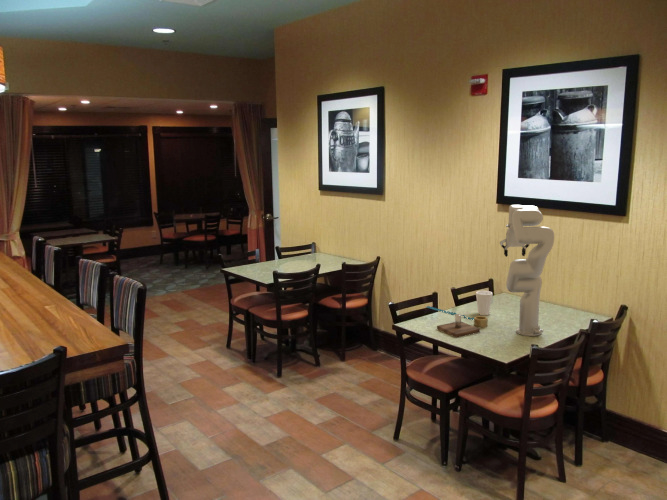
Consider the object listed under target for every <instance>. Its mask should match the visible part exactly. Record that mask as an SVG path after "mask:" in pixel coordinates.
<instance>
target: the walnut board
mask: <svg viewBox="0 0 667 500" xmlns="http://www.w3.org/2000/svg"><path fill="white" fill-rule="evenodd" d="M437 329H438V331H439V332H442V333H444V334H447V335H449V336H451V337H453V338H461V337H465V335H466V336H469V334H470V335H474V334H478V332H479V333H480V331H481V328H478V327H475V326H474V325H471V324H469V323H466V322H463V321H461V328H455V321H453V322H447V323H444V324H440V325H439V324H438V325H437V326H436V330H437ZM473 333H474V334H473Z"/></svg>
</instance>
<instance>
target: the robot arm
mask: <svg viewBox="0 0 667 500" xmlns="http://www.w3.org/2000/svg"><path fill="white" fill-rule="evenodd" d="M543 220H544V216H543V213H542V212H541V211H540V209H539V207H538V206H535V205H522V204H511V205H509V207H508V223H507V224H506V225H505V228H507V229H506V233H505V235H506V236H505V238H504V239H502V240H501V241H499V244H500V246H501V248H502V249H503V255H504V257H508V256H509V255H508V251H509V250H508V248H509V247H511V248H513V247H516V248H520V247H521V256H522V257H525V256H526V252H527V251H526V250H527V249H528V248H529V246H530V245H535V246H534V247H532V248H531V250H530V251H529V253H528V255H527V258H515V259H514V260H512V261H511V262H510V265H509V268H508V274H507V276H506V277H507V278H506V281H505V282H506V289H507V291H508V292H510V293H523V294H522V295H521V296H520V299H519V320H518V321H519V322H518V323H519V324H518V327H517V328H516V329H515V332H516V333H517V334H519V335H521V336H526V337H538V336H540V335H542V334H543V332H544V329H542V328H541V325H540V324H539V321H540V320H539V318H540V317H539V315H540V296H541V290H542V287H543V286H542V284H543V281H542V278H541V275H542V273H543V270H544V267H545V264H546V260H547V257H548V256H549V254H550V252H551V250H552V249H553V246H554V243H555V232H554V230H553V229H552V228H551V227H548V226H540V225H541V223H542V222H543ZM504 244H505V245H504Z"/></svg>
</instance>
